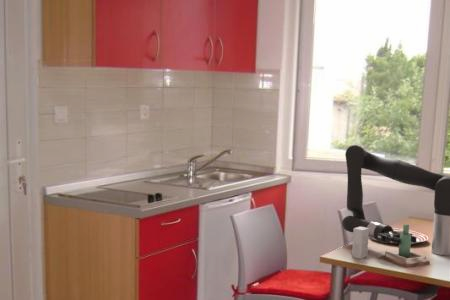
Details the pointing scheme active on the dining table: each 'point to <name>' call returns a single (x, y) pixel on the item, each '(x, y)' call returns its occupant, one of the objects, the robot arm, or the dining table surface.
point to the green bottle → (405, 242)
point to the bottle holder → (405, 259)
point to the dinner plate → (419, 236)
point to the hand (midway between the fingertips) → (408, 240)
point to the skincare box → (360, 242)
